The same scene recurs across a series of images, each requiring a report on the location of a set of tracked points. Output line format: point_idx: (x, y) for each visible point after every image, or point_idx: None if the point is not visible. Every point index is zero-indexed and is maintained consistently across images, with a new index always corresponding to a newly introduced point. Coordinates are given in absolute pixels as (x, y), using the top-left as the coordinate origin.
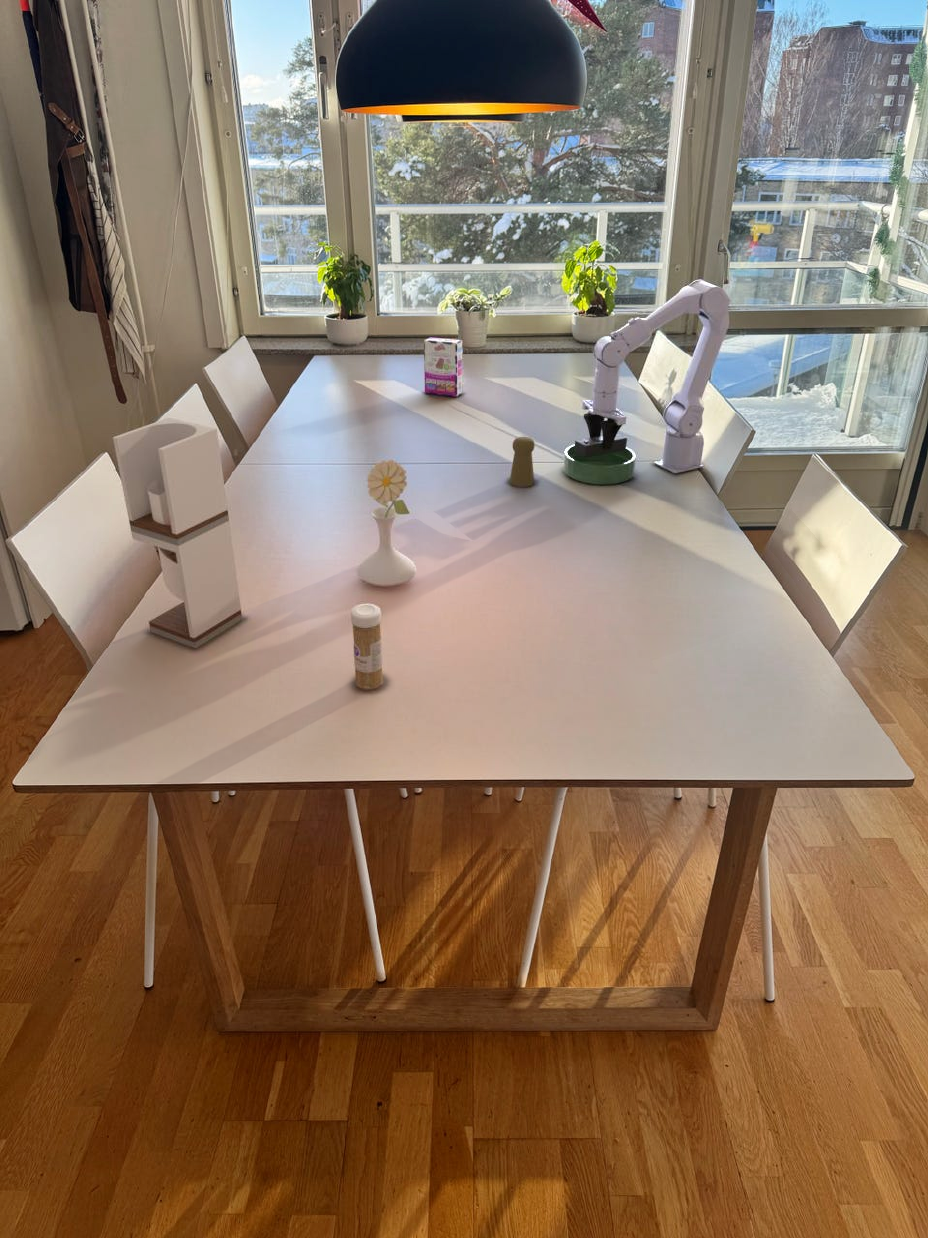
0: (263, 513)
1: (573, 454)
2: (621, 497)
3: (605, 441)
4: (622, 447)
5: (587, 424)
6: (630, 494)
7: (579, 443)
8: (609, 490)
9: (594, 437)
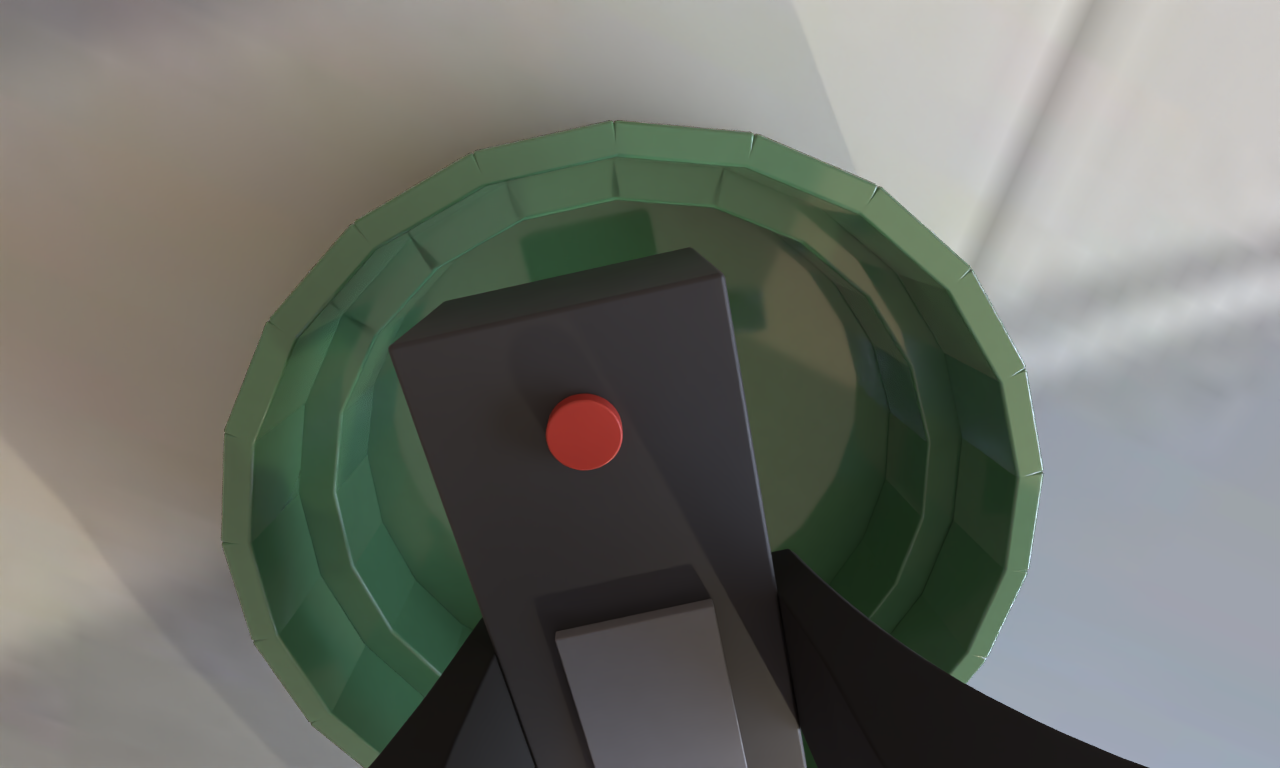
0: None
1: (936, 352)
2: (44, 419)
3: (425, 702)
4: None
5: (970, 703)
6: (112, 512)
7: (582, 299)
8: (219, 388)
9: (757, 630)
